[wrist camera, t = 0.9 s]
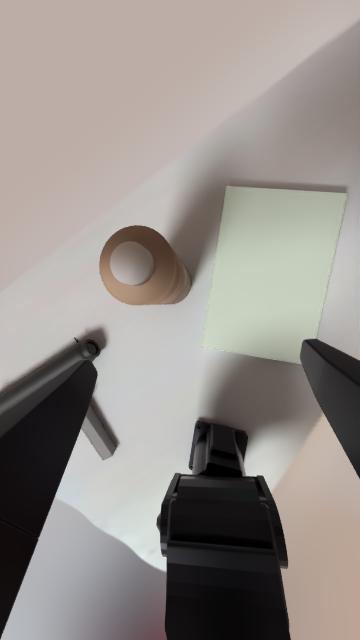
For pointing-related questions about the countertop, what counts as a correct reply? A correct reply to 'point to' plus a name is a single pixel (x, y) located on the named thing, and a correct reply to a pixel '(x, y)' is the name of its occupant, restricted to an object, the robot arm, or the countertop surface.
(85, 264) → the countertop surface
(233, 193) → the serving board
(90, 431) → the door handle
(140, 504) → the countertop surface
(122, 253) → the brown capped cylinder
